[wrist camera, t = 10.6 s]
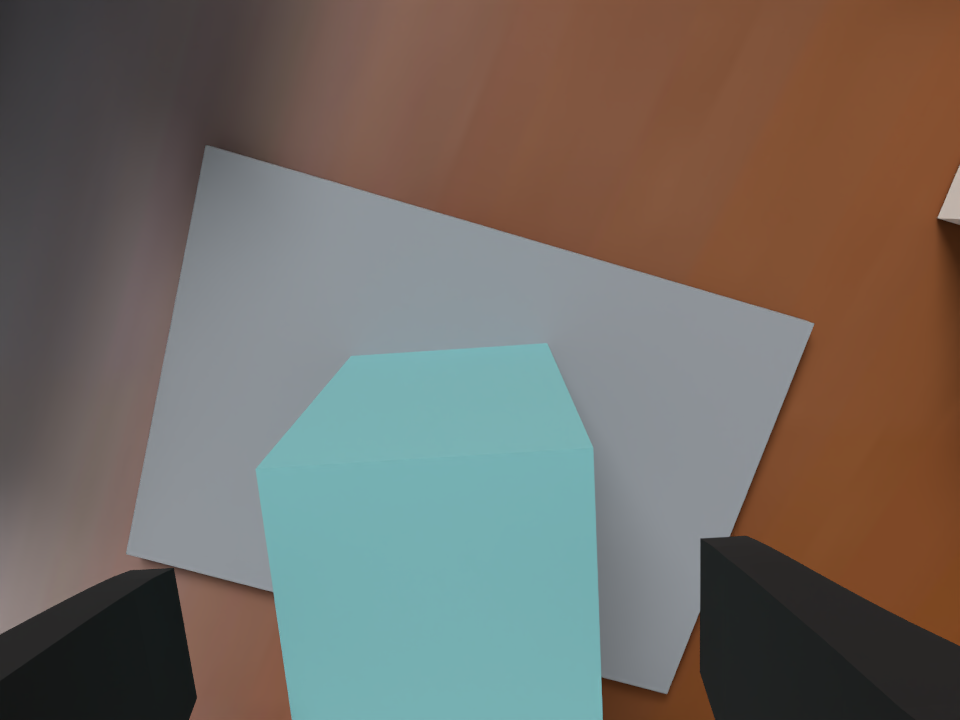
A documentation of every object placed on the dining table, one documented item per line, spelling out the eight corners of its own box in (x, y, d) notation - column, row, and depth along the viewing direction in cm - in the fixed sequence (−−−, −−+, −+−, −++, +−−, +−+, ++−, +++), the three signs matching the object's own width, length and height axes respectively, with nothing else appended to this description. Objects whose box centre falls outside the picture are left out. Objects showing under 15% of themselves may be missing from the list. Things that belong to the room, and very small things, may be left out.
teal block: (547, 343, 16) (593, 447, 9) (556, 525, 17) (603, 739, 10) (350, 355, 16) (254, 468, 10) (370, 536, 17) (297, 756, 10)
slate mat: (804, 320, 17) (814, 323, 16) (661, 681, 19) (667, 694, 18) (214, 146, 16) (205, 145, 15) (135, 543, 18) (126, 553, 17)
